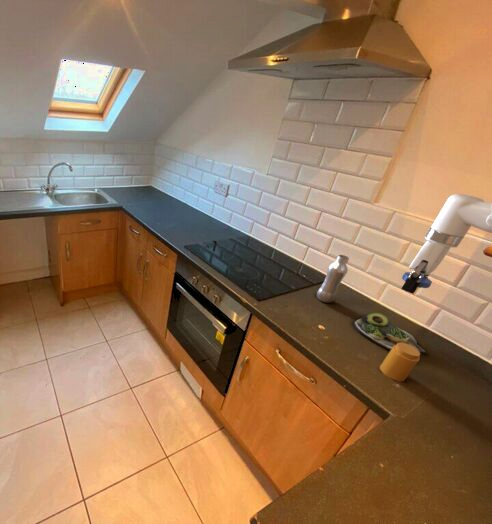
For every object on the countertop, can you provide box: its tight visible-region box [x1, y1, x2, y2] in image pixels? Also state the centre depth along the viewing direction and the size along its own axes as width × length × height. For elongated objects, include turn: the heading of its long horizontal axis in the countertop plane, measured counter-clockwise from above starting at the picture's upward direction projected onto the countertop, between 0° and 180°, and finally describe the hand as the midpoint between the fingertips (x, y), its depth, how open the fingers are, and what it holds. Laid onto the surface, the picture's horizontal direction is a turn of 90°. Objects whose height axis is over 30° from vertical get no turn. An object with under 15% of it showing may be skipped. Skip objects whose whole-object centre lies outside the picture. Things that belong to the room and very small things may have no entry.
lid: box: [401, 271, 433, 289], centre depth 94 cm, size 7×7×2 cm
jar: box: [379, 343, 421, 382], centre depth 86 cm, size 6×6×10 cm
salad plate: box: [353, 312, 426, 353], centre depth 103 cm, size 19×18×5 cm
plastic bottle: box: [316, 254, 350, 304], centre depth 118 cm, size 6×7×20 cm
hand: (411, 287), depth 96 cm, fingers closed on lid, 6 cm apart
